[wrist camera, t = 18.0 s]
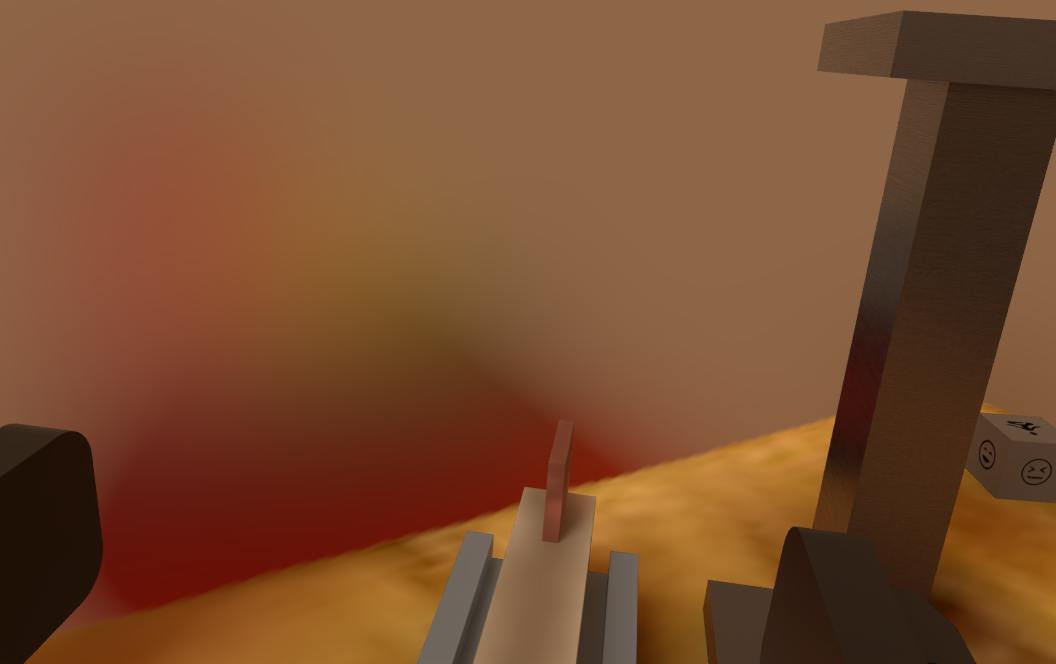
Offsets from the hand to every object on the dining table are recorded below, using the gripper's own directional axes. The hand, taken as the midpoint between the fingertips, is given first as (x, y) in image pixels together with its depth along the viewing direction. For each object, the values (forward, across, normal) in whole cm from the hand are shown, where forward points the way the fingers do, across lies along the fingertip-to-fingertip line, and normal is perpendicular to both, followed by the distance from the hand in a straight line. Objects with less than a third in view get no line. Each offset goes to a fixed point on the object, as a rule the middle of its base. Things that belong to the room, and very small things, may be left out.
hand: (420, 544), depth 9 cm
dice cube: (+53, -36, +26) cm, 69 cm away
